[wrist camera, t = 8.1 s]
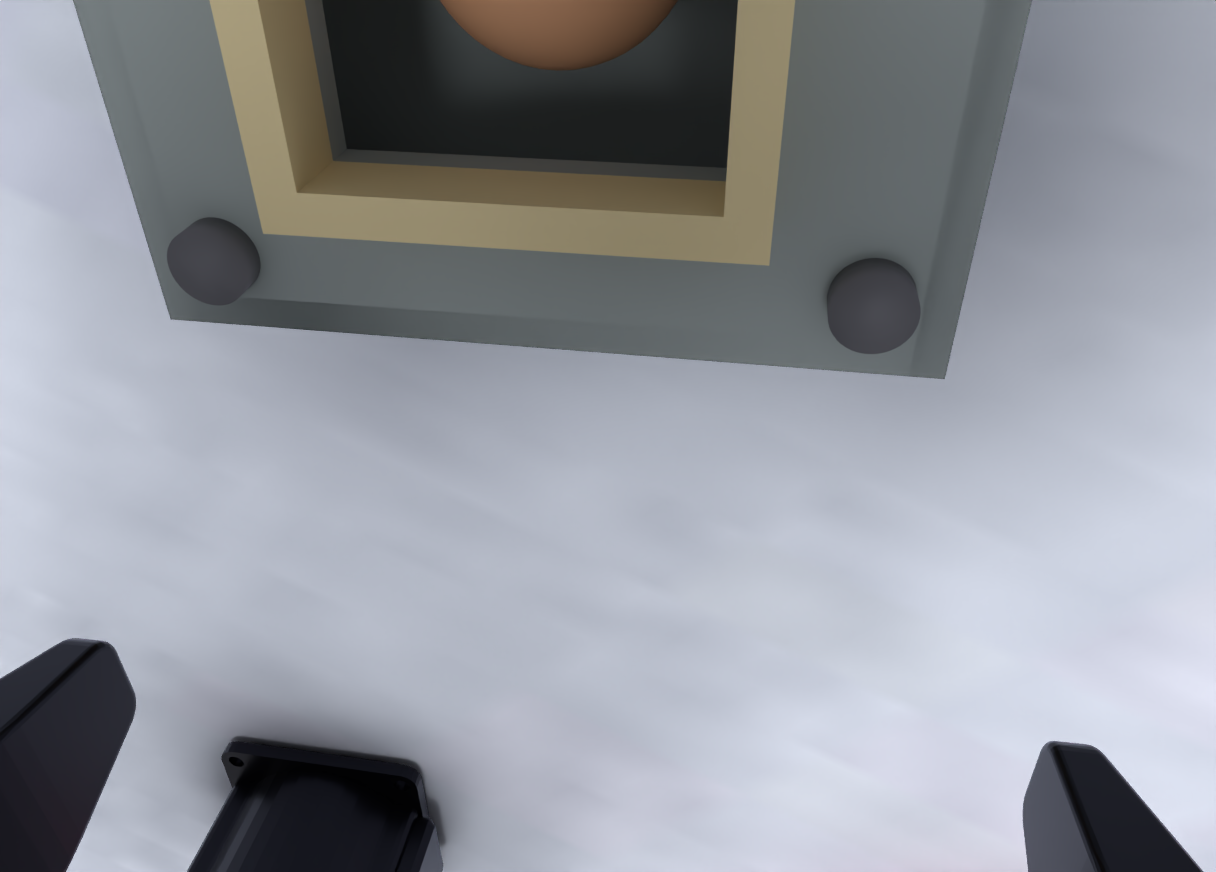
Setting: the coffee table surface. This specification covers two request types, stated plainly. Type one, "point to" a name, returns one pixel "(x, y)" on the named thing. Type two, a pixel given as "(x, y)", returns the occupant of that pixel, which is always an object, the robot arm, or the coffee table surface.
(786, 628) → the coffee table surface
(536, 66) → the bead
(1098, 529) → the coffee table surface
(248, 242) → the grey box with opening
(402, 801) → the robot arm
